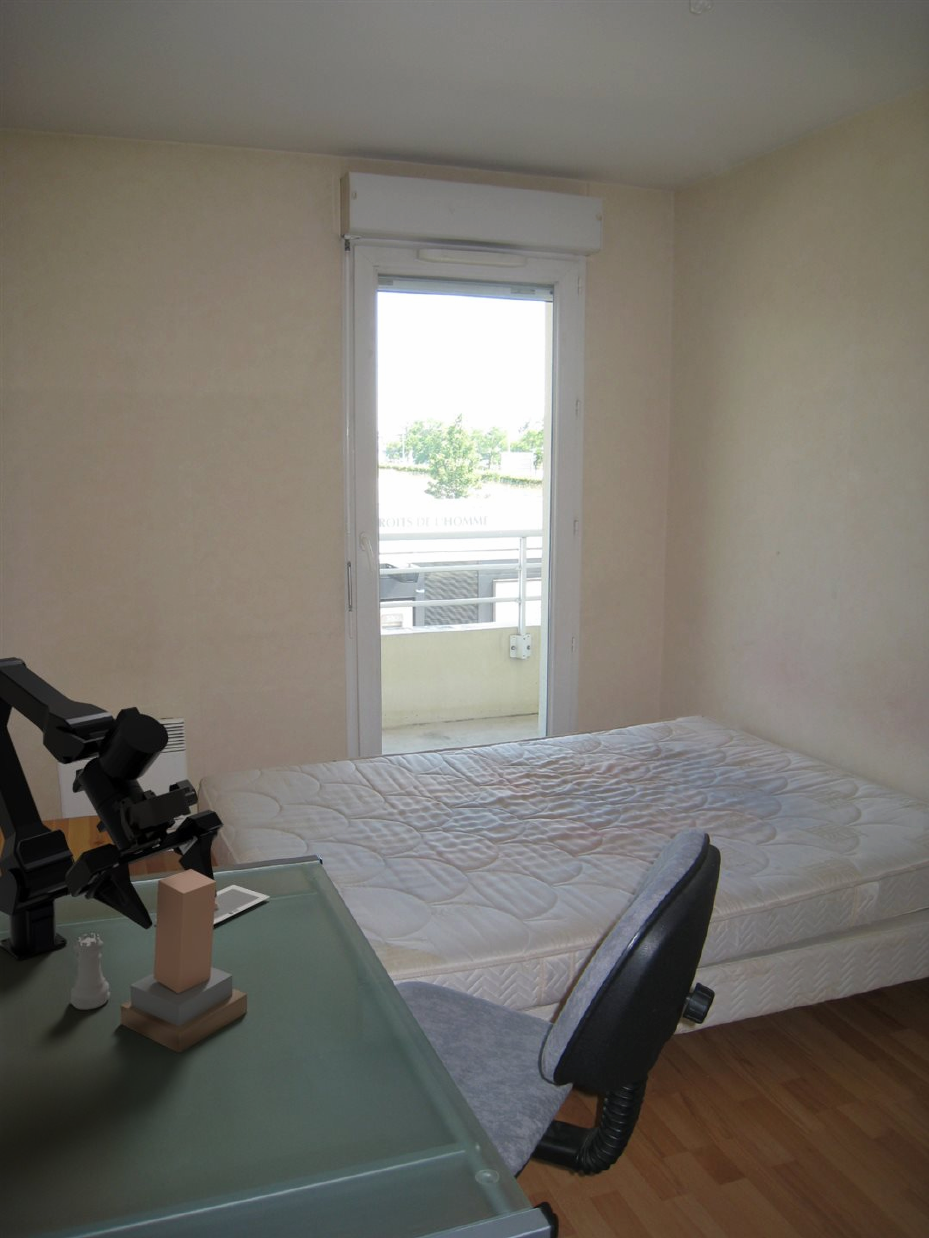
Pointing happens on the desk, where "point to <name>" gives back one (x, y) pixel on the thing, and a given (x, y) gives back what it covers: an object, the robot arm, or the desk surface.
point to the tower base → (189, 1031)
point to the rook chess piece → (89, 975)
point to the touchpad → (234, 901)
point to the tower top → (180, 997)
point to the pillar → (184, 930)
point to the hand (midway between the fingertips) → (183, 912)
